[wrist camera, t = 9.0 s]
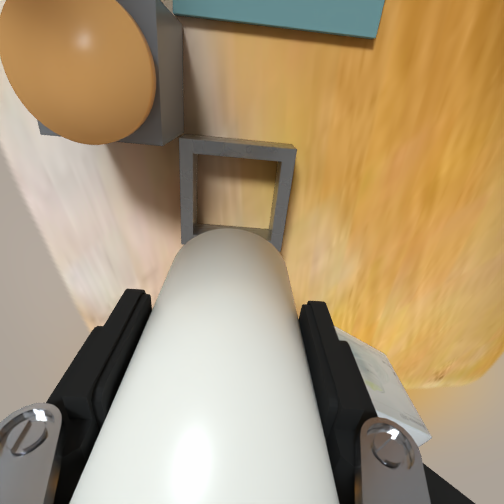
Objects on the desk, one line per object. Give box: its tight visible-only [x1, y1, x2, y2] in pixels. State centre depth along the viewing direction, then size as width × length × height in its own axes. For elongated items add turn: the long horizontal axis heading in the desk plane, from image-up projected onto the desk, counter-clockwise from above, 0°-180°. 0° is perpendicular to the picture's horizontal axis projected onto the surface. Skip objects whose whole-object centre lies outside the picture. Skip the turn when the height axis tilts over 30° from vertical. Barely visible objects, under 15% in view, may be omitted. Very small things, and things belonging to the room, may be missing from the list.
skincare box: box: [334, 326, 432, 447], centre depth 31 cm, size 10×6×10 cm, turn 56°
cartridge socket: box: [179, 134, 297, 252], centre depth 25 cm, size 9×9×2 cm
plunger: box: [0, 0, 156, 145], centre depth 16 cm, size 7×7×5 cm
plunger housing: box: [37, 0, 184, 146], centre depth 19 cm, size 7×7×7 cm
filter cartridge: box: [69, 228, 339, 504], centre depth 8 cm, size 5×5×11 cm
